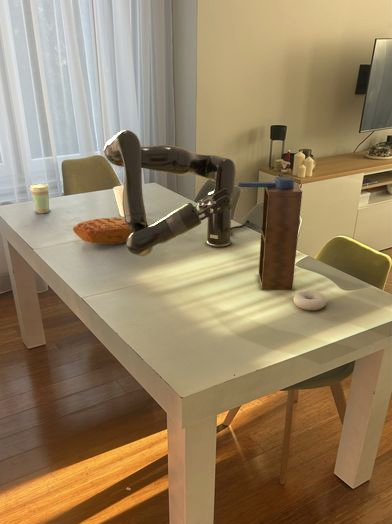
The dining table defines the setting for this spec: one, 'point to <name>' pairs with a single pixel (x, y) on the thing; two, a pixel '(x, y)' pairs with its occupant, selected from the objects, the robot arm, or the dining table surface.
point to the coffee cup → (40, 197)
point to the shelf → (279, 237)
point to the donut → (309, 300)
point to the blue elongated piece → (271, 183)
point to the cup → (119, 197)
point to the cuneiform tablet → (103, 231)
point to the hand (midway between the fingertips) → (228, 194)
